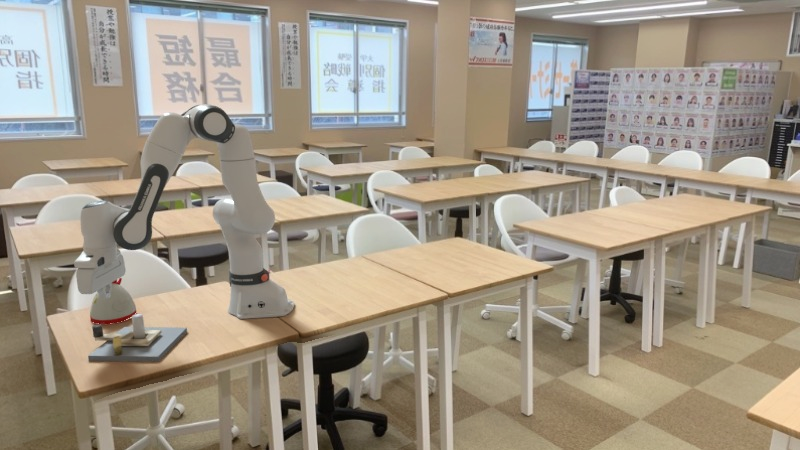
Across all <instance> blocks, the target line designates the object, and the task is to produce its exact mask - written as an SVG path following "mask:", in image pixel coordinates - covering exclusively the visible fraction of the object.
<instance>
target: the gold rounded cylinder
mask: <svg viewBox="0 0 800 450" xmlns="http://www.w3.org/2000/svg"><path fill="white" fill-rule="evenodd" d="M113 346H114V353H115V356H119V355H122V354H123V353H122V345H121V337H120V336H116V337H113Z"/></svg>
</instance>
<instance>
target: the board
mask: <svg viewBox="0 0 800 450" xmlns="http://www.w3.org/2000/svg"><path fill="white" fill-rule="evenodd" d="M131 321H132V326H124V327H122V328H121V329H120V330H118V332H116V333H115V334H128V333H129V332H130V331H132V330H133V332H134V339H144V338H145V337H146V336H145V330H161V332H162V333H161V334H160V335H159V336H158V337H157V338H156V339H155V340H154V341H153V342H152V343H151V344H150V345H148V346H122V353H123V354H122V355H119V356H115V353H114V346H113V341H105V342H103V343H102V344H101V345H100V346H98V347H97V348H96V349H95V350H94V351H92V352H91V353H89V354H88V355H87V359H88V361H89V362H90V361H91V362H92V361H93V362H95V361H96V362H99V361H100V362H160V361H161V360H162V359H163V357H164V356H166V355H167V354H168V352H170V350H171V349H173V347H174V346H175V345H177V343H178V342H179V341H180V340H181V339H182V338H183V337H184V336H185V335H186V334H187V333H188V327H178V326H177V327H172V326H171V327H169V326H168V327H164V326H161V327H160V326H159V327H157V326H155V327H154V326H152V327H151V326H145V322H144V314H142V313H136V314H135V315H133V316H132V318H131Z"/></svg>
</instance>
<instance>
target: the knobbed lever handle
mask: <svg viewBox="0 0 800 450" xmlns="http://www.w3.org/2000/svg"><path fill="white" fill-rule="evenodd" d="M91 329H92V335H93V338H94V341H101V342H102V341H103V342H104V341H105V342H106V341H113V337H116V336H120V337H121V345H122V346H148V345H150V344H151V343H152V342H153V341H154V340H155V339H156V338H157V337H158V336H159V335H160V334H161V333H162V332H161V330H145V336H146V337H145V338H144V339H134V332H133V330H132V331H130V332H129V333H128V334H116V333H104V329H103V325H99V324H95V325H92V327H91Z"/></svg>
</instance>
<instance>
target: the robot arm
mask: <svg viewBox="0 0 800 450" xmlns="http://www.w3.org/2000/svg"><path fill="white" fill-rule="evenodd" d="M196 138H197V139H200V140H203V141H209V142H214V143H215V144H216V146H217V149H218V155H219V156H218V157H219V164H220V165H219V166H220V174H221V182H222V185H223V186H224V187H225V188H226V190H227V191H228V193H229V195H230V197H226V198H225V197H224V198H221V199H219V200H217V201H216V203H215V204H214V206H213V207H212V217H213V219H214V221H215V223H216V224H217V225H218V226H219V228H220V231H221V232H222V235H223V237H224V238H223V239H224V240H225V244H226V247H227V250H228V258H229V273H228V278H229V279H228V281H229V286H230V300H229V305H228V308H227V312H228V313H229V314H230V315H233V316H236V318H238V319H240V320H243V319H247V320H248V319H260V318H261V319H262V318H274V317H275V318H276V317H284V316H288V314H290V313H291V312H292V311H293V309H294V307H295V302H294V300H293V299H289V298H288V294H287V291H286V289H285V287H283V286H281V285H280V284H278V283H277V282H275V281H274V280H272V279H270V273H271V269H268V270H266V269H265V267H264V261H263V259H264V258H263V248H262V246H261V243H260V242H258V240H257V238H256V237H255V235H262V234H267V233H269V232H270V231H271V230H272V229H273V227H274V225H275V221H276V216H275V212H274V210H273V208H272V207H270V205H269V204H268V202H267V201H266V199H265V197H264V195H263V192H262V190H261V187H260V185H259V181H258V176H257V168H256V167H257V166H256V160H255V151H254V146H253V141H252V138H251V135H250V132H249V130H248V128H247V127H245V126H243V125H241V124H238V123H237V124H236V123H233V121H232V120H231V119H230V117H229V115H228V114H227V112H226V111H225V110H223V109H222V108H221V107H219V106H216V105H212V104H208V103H207V104H204V103H203V104H197V105H194V106H192V107H190V108H189V109H188V110H186V111H184V112H183V113H182V114H180V113H175V112H165V113H163V114H161V116H160V117H159V118H158V120H157V121H156V123H155V124H154V125H153V127H152V129H151V130H150V133H149V135H148V136H147V138H146V141H145V143H144V146H143V149H142V153H141V156H140V172H141V178H140V183H139V187H138V188H137V189H138V190H137V192H136V194H135V197H134V199H133V201H132V204H131V207H130V208H126V207H121V206H119V205H116V204H114V203H112V202H110V201H109V200H96V201H93V202H90V203H87V204H86V205H84V206H83V207H82V209H81V210H80V229H81V230H80V231H81V232H80V233H81V235H82V237H83V244H82V252H80V255H79V256H78V257H77V258H76V259H75V260H74V263H73V265H74V268H75V269H76V272H75V275H76V277H75V278H76V284H77V285H76V286H77V290H78V292H79V293H80V294H81V295H92V294H95V293H97V292H98V293H99V295H100V300H106V299H107V298H109V297H111V293H110V291H111V288H112V282H113V281H115V280H117V281H118V280H119V278H123V276H125V275H126V272H127V271H126V265H125V258H124V256H123V254H122V253H121V250H120V249H119V248H118V246H119V247H121V248H122V249H125V250H126V251H136V250H141V249H143V248H144V247H146V246H147V245H148V244H149V242H150V241H151V240H152V237H153V226H152V224H153V223H152V221H153V218H154V217H153V216H154V214H155V213H156V209H157V207H158V205H159V202H160V199H161V197H162V195H163V192H164V189H165V188H166V186H167V184H168V183H169V181H170V180H171V178H172V176H173V175H174V173H175V171H176V169H177V168H178V166H179V165H180V163H181V161H182V160H183V159H182V158H183V157H184V154H185V152H186V148H187V146H188V145H189V144H190V143H191V142H192V140H194V139H196Z"/></svg>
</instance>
